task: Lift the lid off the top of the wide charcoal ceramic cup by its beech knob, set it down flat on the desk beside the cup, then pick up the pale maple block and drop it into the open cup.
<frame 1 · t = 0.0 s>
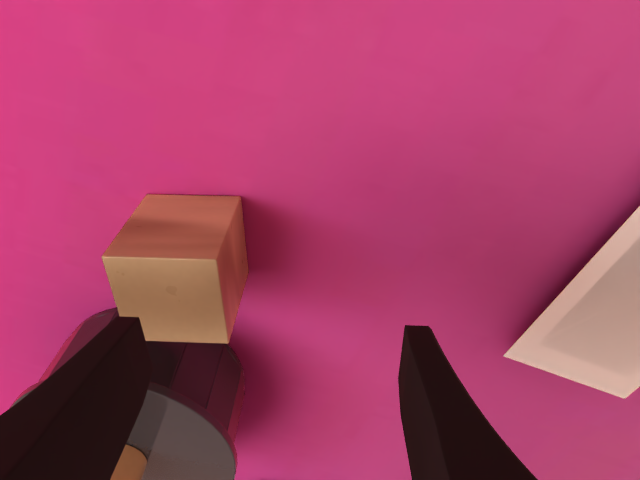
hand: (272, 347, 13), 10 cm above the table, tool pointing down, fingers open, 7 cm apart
block: (200, 234, 24), on the table
lid: (125, 448, 25), point 5 cm above the table, touching cup
cup: (157, 373, 29), on the table
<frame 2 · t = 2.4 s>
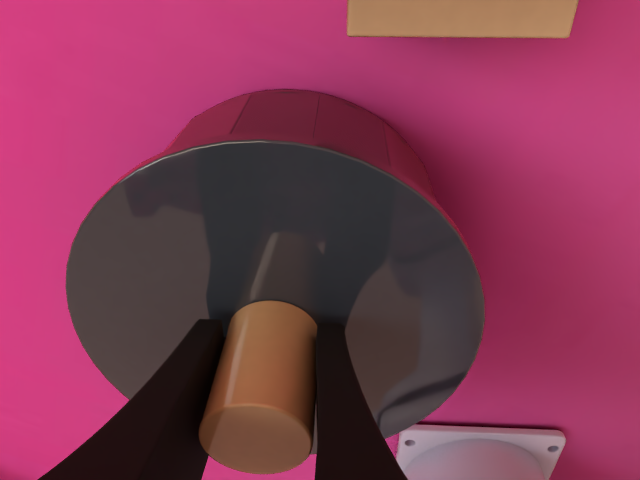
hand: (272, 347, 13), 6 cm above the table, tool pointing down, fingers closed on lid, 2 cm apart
lid: (276, 322, 14), point 5 cm above the table, touching cup, gripper
cup: (292, 230, 18), on the table
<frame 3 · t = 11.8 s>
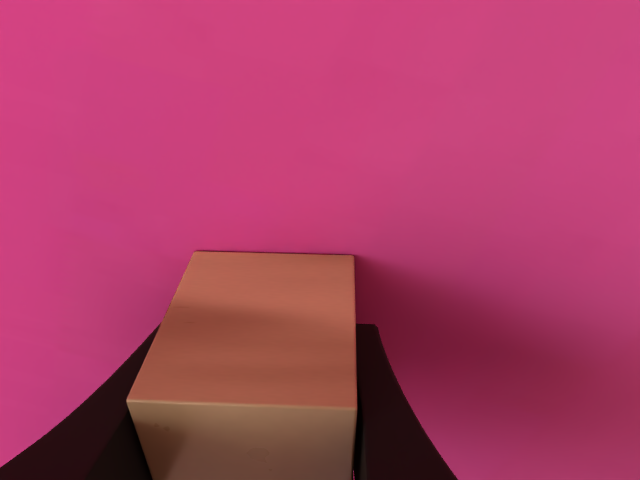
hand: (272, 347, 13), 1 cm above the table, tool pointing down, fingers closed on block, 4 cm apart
block: (277, 312, 14), on the table, touching gripper
when the fingers open (6 cm above the table, at t = 16.1 s): block drops 5 cm, resting on cup.
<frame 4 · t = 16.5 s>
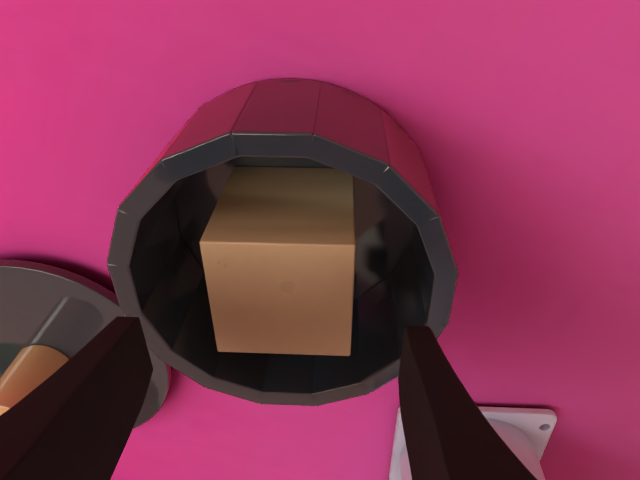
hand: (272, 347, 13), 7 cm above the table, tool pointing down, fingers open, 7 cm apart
block: (294, 218, 19), resting on cup
lid: (52, 355, 24), point 1 cm above the table
cup: (295, 213, 19), on the table
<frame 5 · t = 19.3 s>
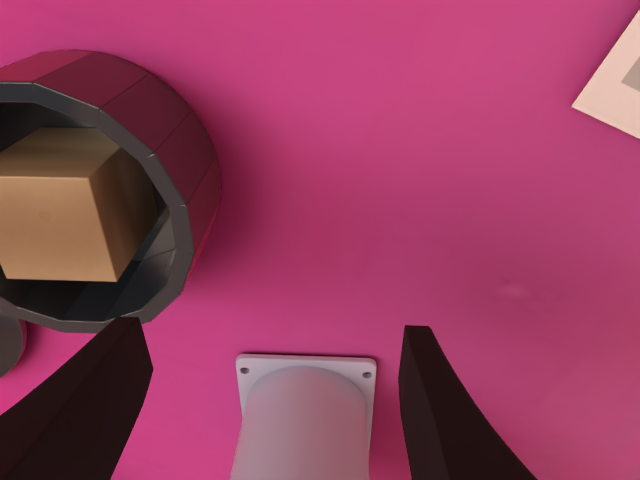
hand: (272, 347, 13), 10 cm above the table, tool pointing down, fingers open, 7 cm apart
block: (102, 174, 22), resting on cup
cup: (106, 171, 22), on the table
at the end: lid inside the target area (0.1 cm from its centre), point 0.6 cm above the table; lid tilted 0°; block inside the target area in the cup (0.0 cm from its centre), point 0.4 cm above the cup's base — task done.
